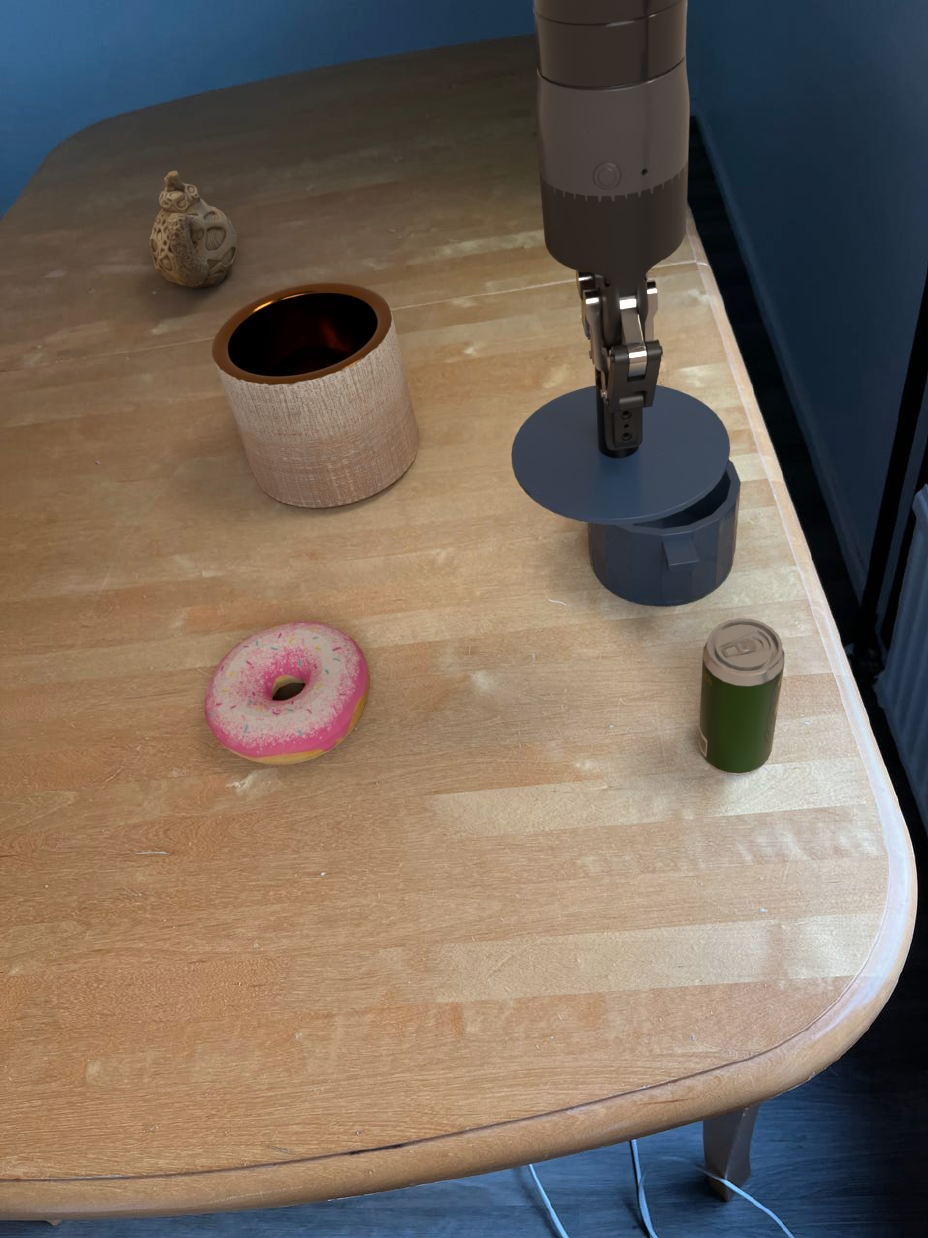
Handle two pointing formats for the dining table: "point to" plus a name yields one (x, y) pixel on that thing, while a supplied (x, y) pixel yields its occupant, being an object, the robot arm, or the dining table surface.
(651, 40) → the robot arm
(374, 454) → the planter
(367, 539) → the dining table surface
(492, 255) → the dining table surface
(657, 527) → the blue cooking pot
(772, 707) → the beer can
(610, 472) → the lid
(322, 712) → the donut
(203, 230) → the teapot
